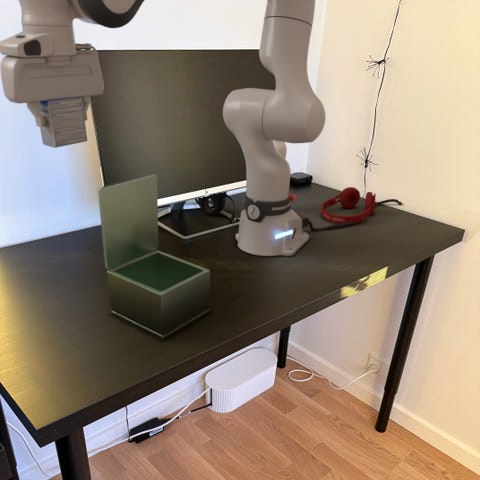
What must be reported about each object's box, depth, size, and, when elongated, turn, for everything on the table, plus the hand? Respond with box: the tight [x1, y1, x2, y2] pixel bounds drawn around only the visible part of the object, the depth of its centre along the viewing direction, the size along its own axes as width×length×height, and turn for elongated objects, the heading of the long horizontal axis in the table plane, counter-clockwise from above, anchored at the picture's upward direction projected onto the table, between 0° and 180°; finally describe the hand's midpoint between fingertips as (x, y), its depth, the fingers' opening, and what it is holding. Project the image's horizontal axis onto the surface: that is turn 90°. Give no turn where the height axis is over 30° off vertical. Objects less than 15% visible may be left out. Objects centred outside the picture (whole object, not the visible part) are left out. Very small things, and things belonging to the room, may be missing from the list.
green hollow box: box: [106, 249, 211, 341], centre depth 98 cm, size 15×14×10 cm
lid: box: [97, 174, 160, 270], centre depth 95 cm, size 16×14×5 cm
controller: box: [197, 191, 228, 216], centre depth 151 cm, size 4×12×10 cm, turn 53°
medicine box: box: [38, 97, 88, 149], centre depth 96 cm, size 8×4×9 cm, turn 144°
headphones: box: [321, 186, 376, 224], centre depth 157 cm, size 15×7×20 cm
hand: (62, 123), depth 96 cm, fingers closed on medicine box, 8 cm apart
